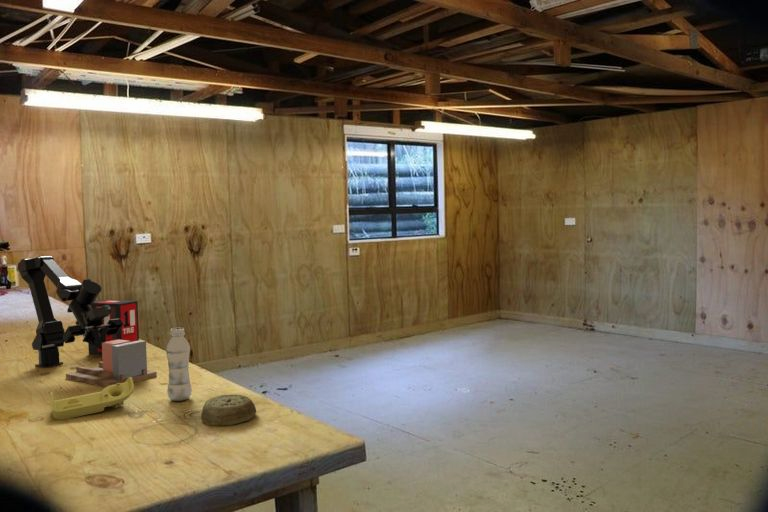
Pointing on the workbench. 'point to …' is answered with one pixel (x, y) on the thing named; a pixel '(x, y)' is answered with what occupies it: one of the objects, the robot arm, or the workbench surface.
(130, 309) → the cleaning product box
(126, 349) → the end stop
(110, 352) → the pink rectangular block
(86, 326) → the robot arm
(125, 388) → the plastic component
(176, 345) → the plastic bottle
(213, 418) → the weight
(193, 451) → the workbench surface
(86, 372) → the wooden pallet
